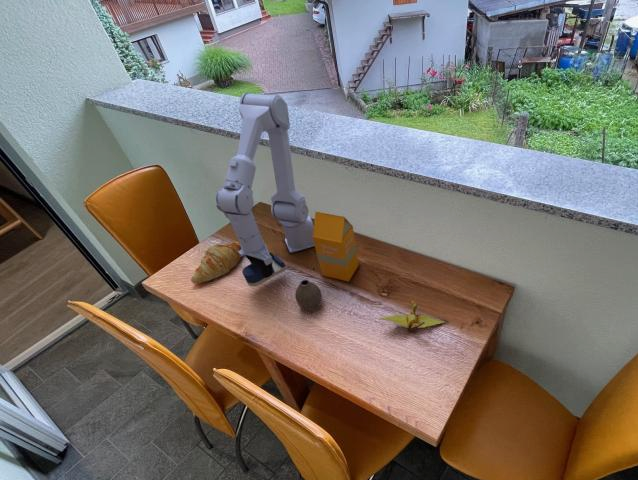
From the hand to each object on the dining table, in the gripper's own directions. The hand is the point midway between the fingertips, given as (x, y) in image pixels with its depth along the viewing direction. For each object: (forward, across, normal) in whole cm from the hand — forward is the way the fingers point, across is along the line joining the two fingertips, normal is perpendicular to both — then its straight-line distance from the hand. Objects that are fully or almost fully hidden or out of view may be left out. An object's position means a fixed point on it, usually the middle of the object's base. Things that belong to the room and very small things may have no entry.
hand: (264, 271), depth 99 cm
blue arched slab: (+1, 0, 0) cm, 1 cm away
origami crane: (+5, +42, +18) cm, 46 cm away
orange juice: (+5, +11, +18) cm, 22 cm away
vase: (+5, +16, +4) cm, 17 cm away
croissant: (+5, -18, -6) cm, 20 cm away
